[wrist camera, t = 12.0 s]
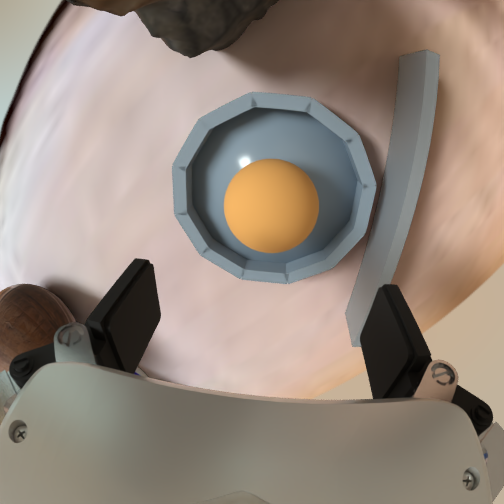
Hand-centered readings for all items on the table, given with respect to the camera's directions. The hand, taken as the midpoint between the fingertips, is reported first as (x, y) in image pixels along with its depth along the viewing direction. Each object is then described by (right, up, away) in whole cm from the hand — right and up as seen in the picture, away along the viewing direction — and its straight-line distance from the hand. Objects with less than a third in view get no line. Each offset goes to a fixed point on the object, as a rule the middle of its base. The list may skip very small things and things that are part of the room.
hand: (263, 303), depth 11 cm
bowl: (+1, +7, +10) cm, 12 cm away
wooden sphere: (-28, -6, +21) cm, 35 cm away
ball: (+1, +5, +7) cm, 8 cm away
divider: (+10, +6, +10) cm, 15 cm away
